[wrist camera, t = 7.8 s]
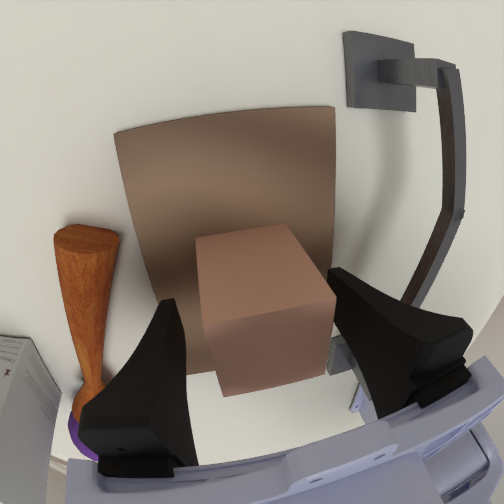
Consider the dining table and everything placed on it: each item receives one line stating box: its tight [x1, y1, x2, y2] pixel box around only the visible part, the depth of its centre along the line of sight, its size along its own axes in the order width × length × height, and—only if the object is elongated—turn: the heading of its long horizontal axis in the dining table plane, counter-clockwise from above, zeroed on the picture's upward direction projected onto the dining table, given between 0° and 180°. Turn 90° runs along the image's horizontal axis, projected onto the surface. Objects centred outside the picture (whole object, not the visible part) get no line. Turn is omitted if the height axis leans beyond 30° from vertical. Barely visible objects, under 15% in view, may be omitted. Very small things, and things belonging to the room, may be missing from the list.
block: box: [195, 223, 337, 397], centre depth 13 cm, size 4×4×6 cm
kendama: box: [54, 224, 120, 461], centre depth 16 cm, size 6×6×20 cm
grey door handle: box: [327, 31, 466, 401], centre depth 15 cm, size 24×4×5 cm, turn 5°
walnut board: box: [114, 106, 336, 375], centre depth 16 cm, size 16×10×1 cm, turn 5°
